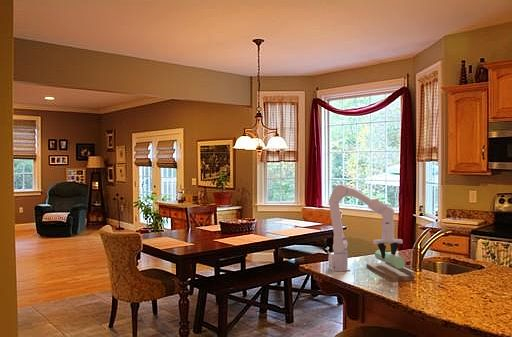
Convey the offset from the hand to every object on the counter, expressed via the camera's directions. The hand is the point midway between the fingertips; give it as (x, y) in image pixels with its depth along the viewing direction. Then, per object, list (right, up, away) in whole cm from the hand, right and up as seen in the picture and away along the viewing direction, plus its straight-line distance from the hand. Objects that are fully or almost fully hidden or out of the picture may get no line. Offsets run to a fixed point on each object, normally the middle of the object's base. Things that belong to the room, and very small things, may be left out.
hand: (388, 258), depth 223 cm
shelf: (0, -8, 0) cm, 8 cm away
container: (0, -3, 0) cm, 3 cm away
